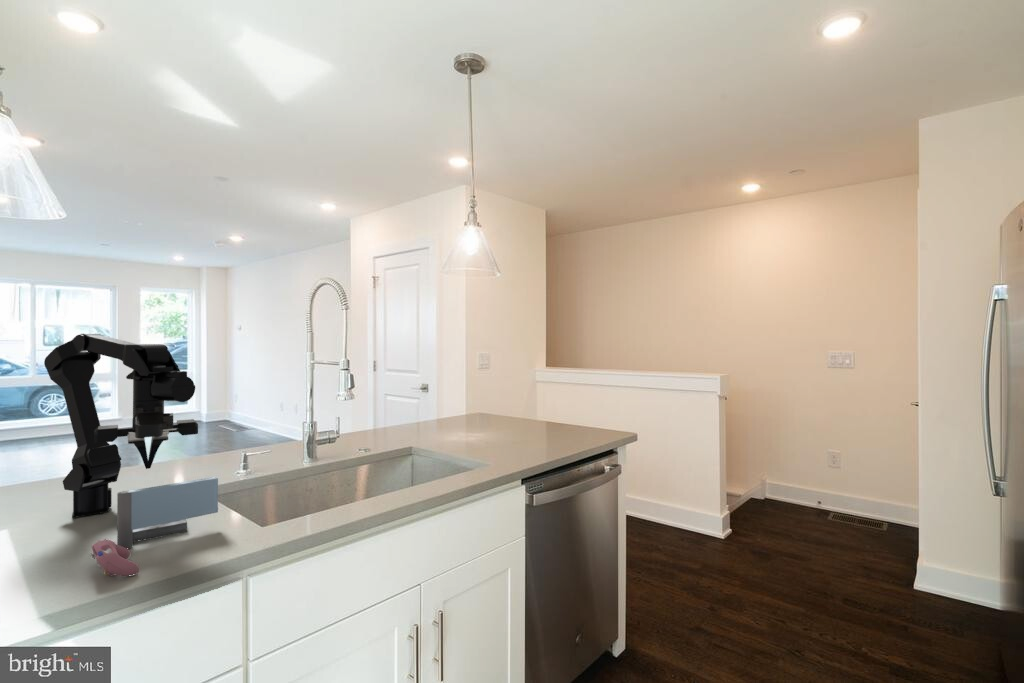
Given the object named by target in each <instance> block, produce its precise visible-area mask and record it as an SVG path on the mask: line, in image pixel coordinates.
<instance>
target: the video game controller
mask: <svg viewBox="0 0 1024 683" xmlns="http://www.w3.org/2000/svg"><path fill="white" fill-rule="evenodd" d="M90 547H91V549H92V553H90V558H92V559H94V560H95V559H96V561H97V565H98V566H99V567H100V568H101V569H103V573H104V575H109V577H112V576H114V575H115V576H118V577H124V576H129V575H133V574H136V573H137V574H138V573H139V570H140V568H139V565H138V564H137V563H135V562H134V561H132V560H129V558H130V557H131V551H130V550H129V549H127V548H125V547H122V546H119V545H117V544H116V542H115V541H113V540H111V539H107V538H106V537H104V538H103V539H101V540H98V541H97V542H95V543H93V544H92V545H91V546H90ZM137 574H136V575H137ZM111 575H112V576H111Z"/></svg>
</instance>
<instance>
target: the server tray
mask: <svg viewBox="0 0 1024 683" xmlns="http://www.w3.org/2000/svg"><path fill="white" fill-rule="evenodd" d="M187 532H188V520H187V519H183V520H178V521H173V522H168V523H163V524H159V525H154V526H149V527H144V528H139V529H134V530H133V541H136V542H139V541H138V540H141V541H145V540H144V539H146V540H150V538H151V539H157V538H162V537H166V536H167V537H168V536H170V535H171V536H172V535H176V534H181V533H187ZM161 536H162V537H161ZM156 537H157V538H156Z"/></svg>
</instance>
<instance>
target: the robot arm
mask: <svg viewBox="0 0 1024 683" xmlns="http://www.w3.org/2000/svg"><path fill="white" fill-rule="evenodd" d="M101 356H106V357H108V358H113V359H117V360H120V361H122V364H123V365H124V366H126V367H128V368H130V369H131V370H132V371H131V372H130V373H128V374H127V375H126V377H125V378H126V379H127V380H132V427H121V428H119V424H110V425H109V424H108V425H101V423H100V418H99V415H98V411H97V407H96V403H95V399H94V396H93V392H92V388H91V385H90V382H91V380H92V378H93V375H94V374H95V371H96V370H95V364H97V363H98V362H99V361H100V360H101ZM44 367H45V369H46V371H47V372H46V373H47V374H48V376H49V378H50V380H51V381H53V382H54V383H55V385H57V386H58V387H59V388H60V389H62V391H63V392H62V393H63V396H64V400H65V404H66V405H65V406H66V407H67V412H68V415H69V416H68V417H69V420H70V424H71V426H72V432H73V435H74V438H75V443H76V449H75V452H74V454H73V456H72V459H71V466H72V469H71V470H70V471H69V472H68V474H67V475H66V476H65V477H64V478H63V480H62V485H63V488H64V490H65V491H71V492H72V501H73V502H72V508H73V509H72V514H71V518H80V517H86V516H93V515H98V514H104V513H105V514H106V513H108V512H109V510H110V508H111V507H112V504H113V503H112V500H113V499H112V498H113V495H112V494H113V492H112V487H109V484H112V483H115V482H117V481H118V478H119V475H120V471H121V468H122V457H121V456H120V453H119V448H118V447H119V446H118V445H117V444H115V443H113V442H114V441H115V440H117V439H118V438H119V437H120V438H122V437H127V444H128V445H131V444H133V445H134V446H135V448H136V449H137V450H138V452H139V454H140V457H141V459H142V462H143V465H144V467H145V469H146V470H147V469H151V467H152V465H153V462H154V459H155V458H156V455H157V453H158V450H159V449H160V446H161V445H162V443H163V442H164V441H165V442H166V441H168V440H169V433H178V434H180V435H181V436H191V435H192V436H193V435H198V434H199V423H198V422H197V421H196V420H195V419H194V418H191V419H179V420H176V423H174V412H167V413H165V402H173V403H174V402H176V403H177V402H178V403H186V402H188V401H190V400H191V399H192V398H193V397H194V395H195V393H196V385H195V383H194V381H193V380H192V378H190V377H189V376H188V371H187V370H186V371H185V370H183V371H182V370H180V368H179V365H178V364H177V363H176V360H175V359H174V357H173V356H172V354H171V352H170V350H169V348H168V345H165V344H162V343H134V342H130V341H127V340H122V339H118V338H114V337H110V336H107V335H104V334H101V333H80V334H77V335H75V336H74V337H73V338H72V339H71V340H69V341H67V342H64V343H63V344H61V345H58V346H56V347H55V348H54V349H53V350H52V351H51V352H50V353H49V354H48V355H46V356H45V358H44ZM145 438H151V440H150V446H149V452H147V446H146V441H145V440H146V439H145ZM110 443H113V444H110ZM92 514H93V515H92Z"/></svg>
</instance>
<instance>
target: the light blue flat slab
mask: <svg viewBox="0 0 1024 683" xmlns="http://www.w3.org/2000/svg"><path fill="white" fill-rule="evenodd" d="M116 495H117V496H116V499H117V500H116V501H117V504H116V505H117V506H116V507H117V508H116V510H117V515H116V516H117V517H116V518H117V519H116V521H117V522H116V523H117V524H116V525H117V526H116V527H117V531H116V532H117V538H116V540H117V541H116V543H117V545H119V546H122V547H125V548H130V547H132V546H134V544H133V543H134V542H133V530H134V529H139V528H144V527H149V526H154V525H159V524H163V523H168V522H173V521H178V520H183V519H186V520H187V519H192V518H196V517H197V518H198V517H202V516H206V515H211V514H216V513H218V512H219V505H218V504H219V478H218V476H212V477H206V478H200V479H195V480H188V481H181V482H175V483H170V484H164V485H163V484H162V485H157V486H152V487H151V486H150V487H144V488H138V489H133V490H122V491H119V492H117V494H116ZM132 548H133V547H132ZM130 549H131V548H130Z"/></svg>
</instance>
